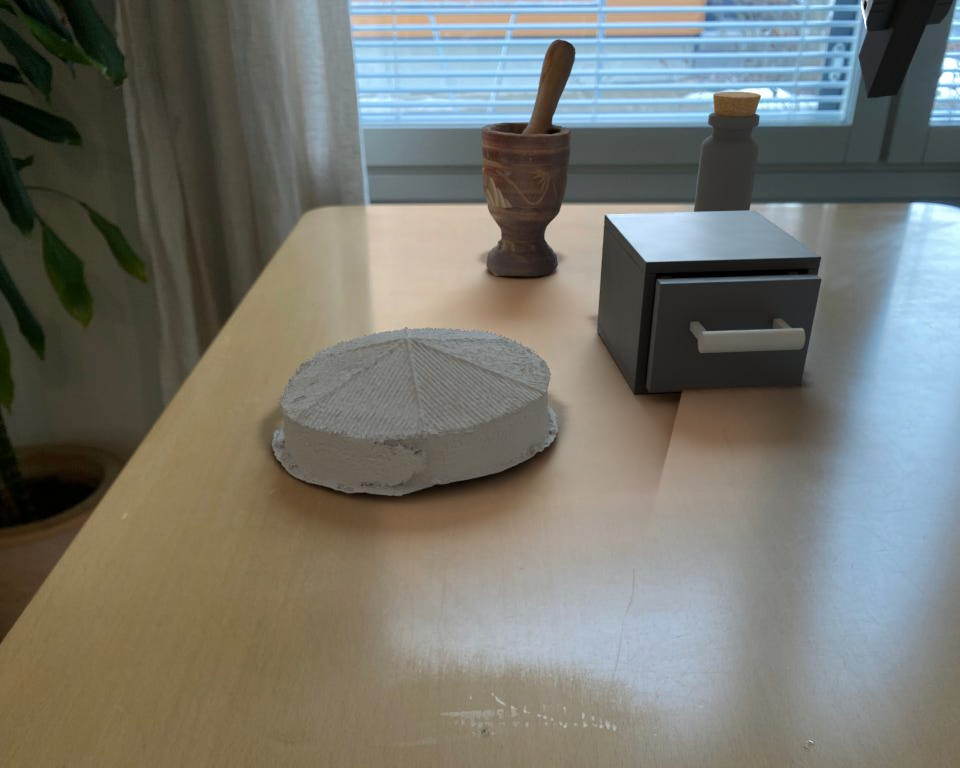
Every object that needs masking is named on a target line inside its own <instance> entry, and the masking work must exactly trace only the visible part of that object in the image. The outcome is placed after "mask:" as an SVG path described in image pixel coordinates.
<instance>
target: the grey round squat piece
mask: <svg viewBox="0 0 960 768" xmlns="http://www.w3.org/2000/svg"><path fill="white" fill-rule="evenodd" d="M516 341H517V340H515V339H511V338H509V337H506V336H503V335H502V334H500V333H498V334H497V333H493V332H489V331H488V330H487V331H485V330H481V331H480V330H476V329H473V330H472V329H471V330H469V329H464V328H462V329H459V328H458V329H457V328H456V327H455V328H446V327H442V328H439V327H438V328H437V327H435V328H433V327H425V328H409V327H407V326H405V327H403V328H401V329H395V330H386V331H380V332H374V333H370V334H368V335H366V334H365V335H363V336H360V337H359V336H358V337H354V338H351V339H349V340H344V341H341V342H337V343H336V344H334V345H332V346H330V345H329V347H327V348H323V349H321V350H318V351H316V352H315V355H313V356H311V357H310V358H307V359H306V360H305V361H304V362H301V363H299V365H298V368H296V369H295V371H293V374H292V375H291V377H290V378H288V379H287V380H285V382H286V381H287V384H286V386H285V387H284V388H283V389H282V391H283V392H282V393H283V394H282V396H280V397H279V400H278V407H279V411H280V412H282V417H283V423H282V426H281V427H280V428H281V429H280V428H279V429H278V430H277V429H275V430H274V432H273V437H272V440H271V448H272V452H274V457H275V458H276V460H277V461H279V462H280V463H281V466H282V468H284V469H285V471H286V472H287V473H288V474H290V475H291V476H292V477H294V478H296V479H298V480H301V481H303V482H305V483H308V484H313V485H314V484H315V485H318V486H323V487H327V488H328V489H329V488H330V489H333V490H335V491H340V492H343V493H346V494H355V493H363V494H364V493H367V494H370V495H379V496H380V495H381V496H382V495H383V496H389V497H391V496H395V497H402V496H403V495H407V494H411V493H414V492H417V491H421V490H423V489H428V488H430V487H431V488H432V487H433V486H435V485H440V486H442V485H447V484H450V483H455V482H456V483H457V482H461V481H466V480H472V479H477V478H481V477H485V476H489V475H495V474H497V473H501V472H504V471H505V470H508V469H510V468H512V467H515V466H518V465H519V464H521V463H523V462H526V461H527V460H529V459H531V458H533V457H534V456H535V455H536V454H537V453H538V452H541V453H542V452H543V451H544V450H545V448H547V447H550V446H551V443H553V442H554V440H555V438H556V437H557V434H558V431H559V430H558V429H559V426H558V423H559V420H558V416H557V414H556V413H555V412H554V410H553V409H552V408H551V407H550V406H548V401H549V396H548V393H549V392H548V388H549V386H550V385H549V384H550V381H551V376H552V373H551V371H550V370H551V369H550V367H549V365H548V364H547V363H548V362H547V361H546V360H545V359H543V358H542V357H541V356H540V355H539V354H537V353H536V350H534V349H532V348H531V347H529V346H525V345H523V344H524V343H523V342H516Z"/></svg>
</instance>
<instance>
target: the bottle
mask: <svg viewBox="0 0 960 768" xmlns="http://www.w3.org/2000/svg"><path fill="white" fill-rule="evenodd" d="M712 97H713V98H712V99H713V112H711V113H709V115H708V119H707V125H708V126H711V127H712V133H711V135H709V136H708V137H707V138H705V139H704V140H703V141H702V143H701V147H700V156H699V162H698V172H697V179H696V187H695V188H696V189H695V196H694V205H693V212H709V211H748V210H751V204H752V197H753V190H754V184H755V177H756V170H757V162H758V157H759V156H758V155H759V150H760V149H759V148H760V147H759V146H760V144H759V142H758V141H757V140H756V139H755V138H754V137H753V136H752V132H753V128H756V127H758V126H759V125H760V120H761V119H760V117H761V116H760V114H758V113H757V109H758V107H759V104H760V100H761V98H762V95H761V94H759V93H757V92H756V93H755V92H748V91H718V92H714V93H713V95H712Z"/></svg>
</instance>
